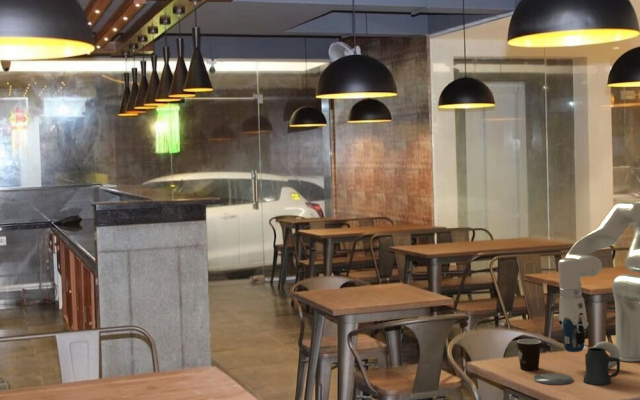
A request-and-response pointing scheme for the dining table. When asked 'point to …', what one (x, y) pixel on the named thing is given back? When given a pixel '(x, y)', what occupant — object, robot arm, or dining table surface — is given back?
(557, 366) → the dining table surface
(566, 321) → the soda can
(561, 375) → the slate coaster
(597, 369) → the mug
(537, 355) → the coffee mug
